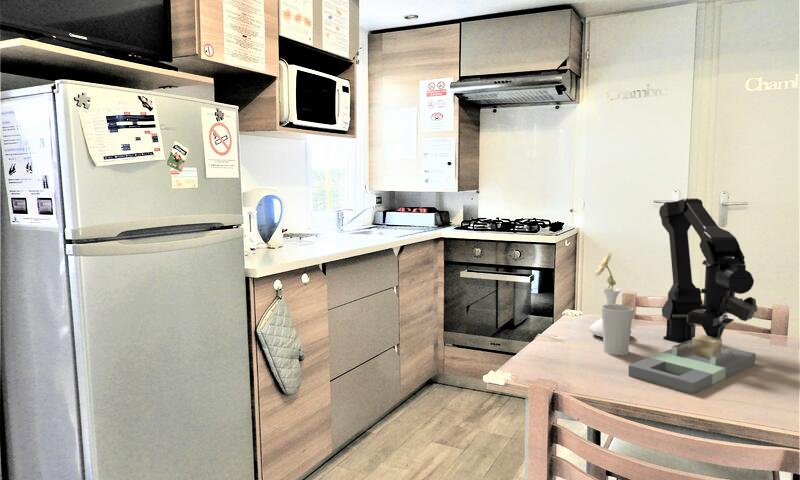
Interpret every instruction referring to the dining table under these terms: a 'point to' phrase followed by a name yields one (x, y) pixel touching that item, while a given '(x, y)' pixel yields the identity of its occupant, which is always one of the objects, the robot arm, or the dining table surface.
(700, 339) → the beech block
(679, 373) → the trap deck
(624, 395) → the dining table surface
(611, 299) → the flower in vase
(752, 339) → the dining table surface
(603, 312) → the cup
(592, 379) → the dining table surface
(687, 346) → the channel rails
